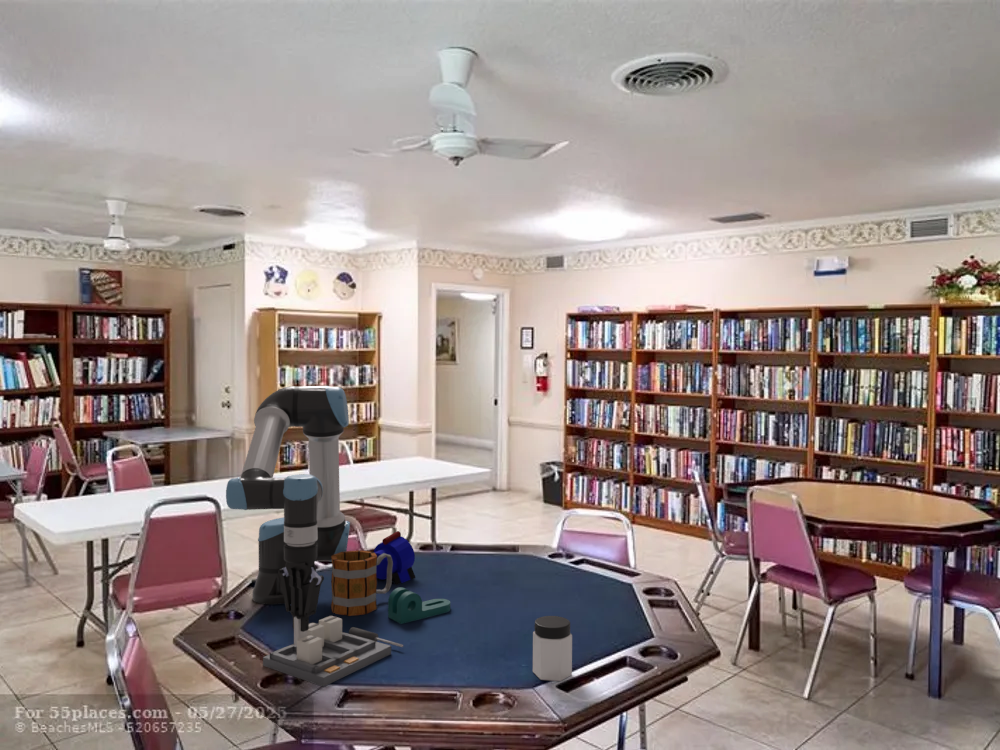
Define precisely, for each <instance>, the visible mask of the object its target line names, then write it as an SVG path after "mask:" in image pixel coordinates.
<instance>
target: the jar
mask: <svg viewBox="0 0 1000 750" xmlns="http://www.w3.org/2000/svg"><path fill="white" fill-rule="evenodd" d="M533 628H534V631H533V632H532V673H533V674H534V675H535V676H536V677H537V678H538V679H539V680H540V681H552V682H561V681H564V680H565V679H567V678H569V677H570V676H572V673H573V662H572V661H573V634H572V633H571V621H570V620H569V619H567V618H565V617H562V616H557V615H545V616H540V617H538V618H536V619H535V620H534V626H533Z"/></svg>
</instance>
